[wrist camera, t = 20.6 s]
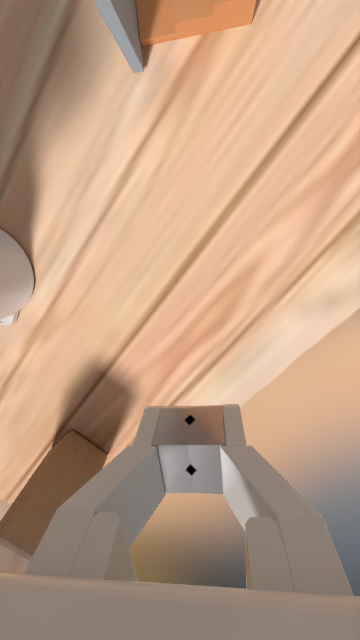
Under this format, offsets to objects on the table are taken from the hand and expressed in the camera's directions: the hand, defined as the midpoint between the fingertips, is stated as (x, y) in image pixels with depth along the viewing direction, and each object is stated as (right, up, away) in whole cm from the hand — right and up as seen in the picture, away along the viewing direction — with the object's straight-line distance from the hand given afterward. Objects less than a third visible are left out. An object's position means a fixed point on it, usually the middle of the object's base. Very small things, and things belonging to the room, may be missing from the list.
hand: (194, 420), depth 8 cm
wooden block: (-22, -25, +48) cm, 58 cm away
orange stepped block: (+1, +37, +19) cm, 42 cm away
